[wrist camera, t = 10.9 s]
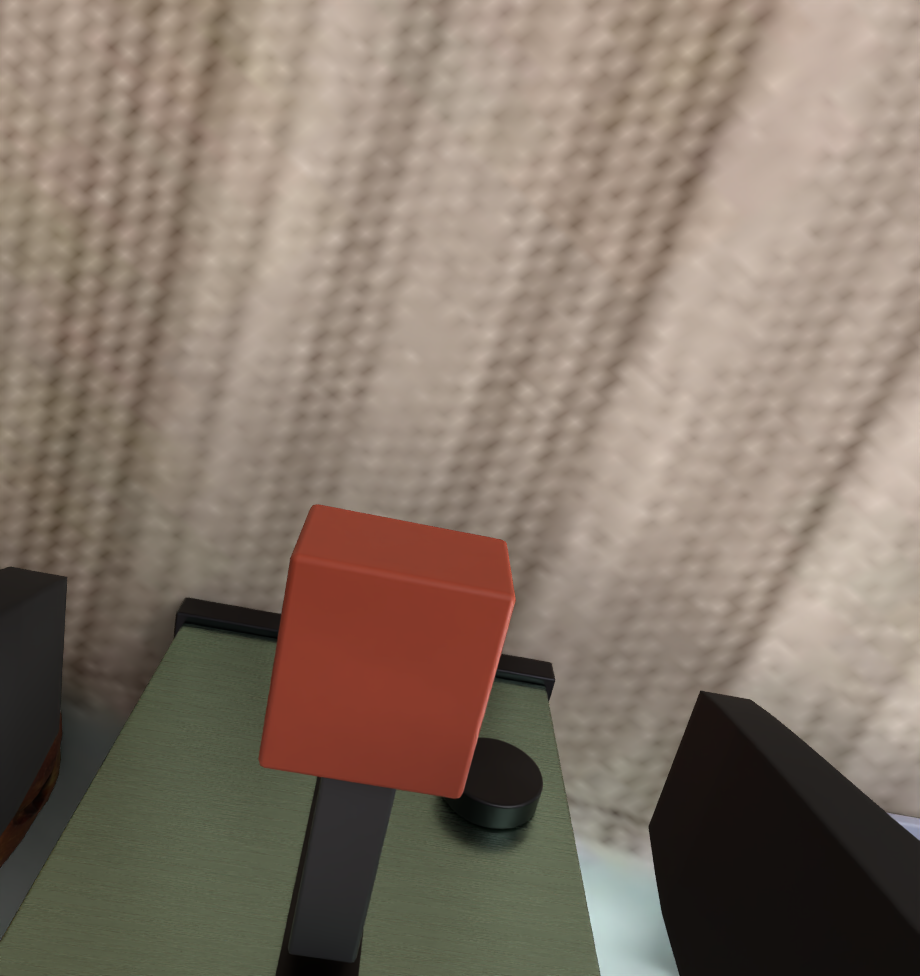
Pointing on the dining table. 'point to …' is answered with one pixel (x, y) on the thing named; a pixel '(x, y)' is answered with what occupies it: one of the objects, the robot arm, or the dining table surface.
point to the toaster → (300, 840)
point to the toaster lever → (377, 692)
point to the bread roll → (32, 800)
